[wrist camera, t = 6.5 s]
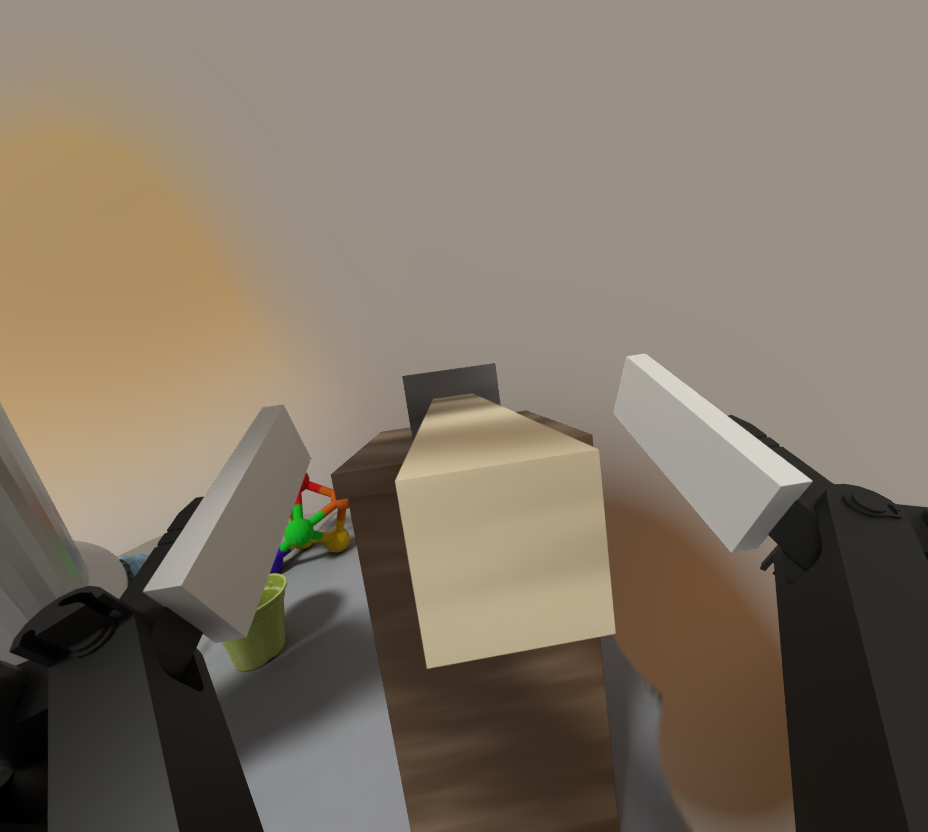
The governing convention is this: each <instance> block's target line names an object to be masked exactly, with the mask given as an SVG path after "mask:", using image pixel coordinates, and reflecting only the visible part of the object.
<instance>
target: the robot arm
mask: <svg viewBox="0 0 928 832" xmlns="http://www.w3.org/2000/svg"><path fill="white" fill-rule="evenodd" d="M613 413H614V415H615V416H616V417H617V418H618V419H619V421H620V422H621V423H622V424H623V425H624V426H625V428H626V429H627V430H628V431H629V432H630V433H631V435H632V436H633V437H634V438H635V439H636V441H637V442H638V443H639V444H640V445H641V446H642V448H643V449H644V450H645V451H646V452H647V454H648V455H649V456H650V457H651V458H652V460H653V461H654V462H655V463H656V464H657V465H658V467H659V468H660V469H661V470H662V471H663V473H664V474H665V475H666V476H667V477H668V478H669V480H670V481H671V482H672V483H673V484H674V485H675V487H676V488H677V489H678V490H679V491H680V493H681V494H682V495H683V496H684V497H685V499H686V500H687V501H688V502H689V503H690V504H691V506H692V507H693V508H694V509H695V510H696V511H697V513H698V514H699V515H700V516H701V517H702V519H703V520H704V521H705V522H706V523H707V524H708V526H709V527H710V528H711V529H712V530H713V532H714V533H715V534H716V535H717V536H718V537H719V539H720V540H721V541H722V542H723V543H724V545H725V546H726V547H727V548H728V549H729V550H730V552H732V553H733V552H739V551H745V550H751V549H756V548H758V547H759V546H760V545H761V544H762V542H763V541H764V540H765V539H766V538H767V536H768V535H769V536H770V537H771V538H772V539H773V540H774V541H775V542H776V543H777V544H778V545H777V546H776V547H775V548H774V550H773V551H772V552H771V553H770V554H769V555H768V557H767V558H766V559H765V560H764V561H763V562H762V564H761V567H760V569H761V570H764V571H766V570H767V568H768V567H769V566H770V565H771V564H772V563H774V570H775V571H774V572H773V574H774V575H775V582H776V594H777V605H778V618H779V631H780V643H781V655H782V667H783V679H784V692H785V704H786V716H787V728H788V739H789V752H790V763H791V764H790V765H791V776H792V788H793V801H794V812H795V824H796V832H928V507H919V506H908V505H898V504H895V503H893V502H892V501H891V500H889V499H887V498H885V497H884V496H882V495H880V494H878V493H876V492H874V491H871V490H868V489H865V488H862V487H859V486H854V485H849V484H833V483H831V482H830V481H829V480H827V479H826V478H825V477H823V476H822V475H820V474H819V473H818V472H816V471H815V470H814V469H812V468H811V467H810V466H808V465H807V464H805V463H804V462H803V461H801V460H800V459H799V458H797V457H796V456H795V455H793V454H792V453H790V452H789V451H788V450H786V449H785V448H784V447H780V446H779V444H778V443H777V442H775V441H774V440H773V439H771V438H770V437H769V438H767V436H766V434H764V433H763V432H762V431H760V430H759V429H758V428H756V427H755V426H753V425H752V424H750V423H748V422H746V421H744V420H741V419H739V418H737V417H735V416H733V415H729V416H727V415H725V414H724V413H723V412H721V411H720V410H719V409H717V408H716V407H715V406H713V405H712V404H711V403H710V402H708V401H707V400H706V399H704V398H703V397H702V396H700V395H699V394H698V393H696V392H695V391H694V390H693V389H691V388H690V387H688V386H687V385H686V384H685V383H683V382H682V381H681V380H679V379H678V378H677V377H675V376H674V375H673V374H671V373H670V372H669V371H668V370H666V369H665V368H663V367H662V366H661V365H660V364H658V363H657V362H656V361H654V360H653V359H651V358H650V357H649V356H648V355H647V354H640V355H634V356H627V357H626V361H625V365H624V370H623V374H622V378H621V382H620V387H619V391H618V395H617V400H616V404H615V408H614V412H613ZM310 460H311V457H310V455H309V453H308V451H307V450H306V447H305V446H304V444H303V442H302V440H301V438H300V436H299V434H298V432H297V430H296V428H295V426H294V424H293V422H292V420H291V418H290V416H289V414H288V412H287V410H286V409H285V407H284V405H277V406H271V407H263V408H262V409H261V411H260V412H259V414H258V415H257V417H256V418H255V420H254V421H253V423H252V424H251V426H250V427H249V429H248V430H247V432H246V434H245V435H244V437H243V438H242V440H241V441H240V443H239V444H238V446H237V447H236V449H235V451H234V452H233V454H232V455H231V457H230V458H229V460H228V461H227V463H226V464H225V466H224V467H223V469H222V470H221V472H220V474H219V475H218V477H217V478H216V480H215V481H214V483H213V484H212V486H211V487H210V489H209V490H208V492H207V494H206V495H205V496H204V497H198V498H195V499H194V500H193V501H192V502H191V503H190V504H188V505H187V506H186V507H185V508H184V509H183V510H182V511H181V512H180V513H179V514H178V515H177V516H176V518H175V519H174V521H173V522H172V524H171V525H170V527H169V528H168V529H167V531H168V532H167V533H165V534H164V535H163V537H162V538H161V539H160V541H159V542H158V547H156V548H154V550H153V551H152V552H151V554H150V555H149V557H148V556H146V555H144V554H138V555H134V556H130V557H129V556H124V557H119V558H117V557H116V556H115V555H114V554H113V553H111V552H110V551H108V550H107V549H104V548H102V547H99V546H97V545H94V544H90V543H86V542H79V541H73V539H72V538H71V536H70V534H69V532H68V530H67V528H66V526H65V524H64V522H63V521H62V519H61V517H60V515H59V513H58V511H57V509H56V507H55V505H54V504H53V502H52V500H51V498H50V496H49V494H48V492H47V490H46V488H45V486H44V485H43V483H42V481H41V479H40V477H39V475H38V473H37V471H36V470H35V468H34V466H33V464H32V462H31V460H30V458H29V456H28V454H27V452H26V451H25V449H24V447H23V445H22V443H21V441H20V439H19V437H18V436H17V434H16V432H15V430H14V428H13V426H12V424H11V423H10V420H9V419H8V417H7V415H6V413H5V411H4V409H3V407H2V405H1V404H0V832H264V830H263V828H262V825H261V822H260V819H259V816H258V813H257V810H256V807H255V805H254V802H253V799H252V796H251V793H250V790H249V787H248V784H247V782H246V779H245V776H244V773H243V770H242V767H241V764H240V761H239V758H238V756H237V753H236V750H235V747H234V744H233V741H232V738H231V735H230V733H229V730H228V727H227V724H226V721H225V718H224V715H223V712H222V710H221V707H220V704H219V701H218V698H217V695H216V692H215V689H214V687H213V684H212V681H211V678H210V675H209V672H208V669H207V666H206V663H205V661H204V658H203V655H202V654H201V652H200V651H199V650H198V649H197V648H196V647H197V645H198V643H199V641H200V639H201V636H202V634H204V635H205V636H207V637H208V638H210V639H211V640H212V641H214V642H215V643H218V642H223V641H229V640H235V639H241V638H246V637H247V635H248V632H249V629H250V626H251V624H252V621H253V618H254V615H255V612H256V610H257V607H258V604H259V601H260V599H261V596H262V593H263V590H264V587H265V585H266V582H267V579H268V576H269V574H270V571H271V568H272V565H273V563H274V560H275V557H276V554H277V551H278V549H279V546H280V543H281V540H282V538H283V535H284V532H285V529H286V526H287V524H288V521H289V518H290V515H291V513H292V510H293V507H294V504H295V501H296V499H297V496H298V493H299V490H300V488H301V485H302V482H303V479H304V477H305V474H306V471H307V468H308V465H309V463H310Z"/></svg>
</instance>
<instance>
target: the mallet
mask: <svg viewBox="0 0 928 832" xmlns="http://www.w3.org/2000/svg"><path fill="white" fill-rule="evenodd" d="M402 377H403V383H404V390H405V396H406V402H407V408H408V414H409V420H410V426H411V433H412V439H413V443H412V446H411V448H410V450H409V452H408V454H407V456H406V459H405V461H404V463H403V465H402V467H401V469H400V471H399V474H398V476H397V478H396V480H395V484H396V490H397V496H398V502H399V508H400V513H401V519H402V525H403V531H404V537H405V543H406V549H407V554H408V560H409V566H410V572H411V578H412V584H413V590H414V595H415V601H416V607H417V613H418V619H419V625H420V631H421V636H422V642H423V648H424V654H425V660H426V666H427V669H428V668H434V667H439V666H445V665H450V664H455V663H461V662H466V661H472V660H477V659H482V658H488V657H493V656H498V655H504V654H509V653H515V652H520V651H525V650H531V649H536V648H542V647H547V646H552V645H558V644H563V643H568V642H574V641H579V640H585V639H590V638H595V637H601V636H606V635H612V634H616V632H615V621H614V611H613V599H612V588H611V578H610V567H609V556H608V546H607V535H606V523H605V513H604V502H603V492H602V480H601V469H600V459H599V449H597V448H594V447H592V446H590V445H588V444H585V443H583V442H581V441H579V440H576V439H574V438H572V437H570V436H567V435H565V434H563V433H561V432H558V431H556V430H554V429H552V428H549V427H547V426H545V425H543V424H540V423H538V422H536V421H534V420H531V419H529V418H527V417H525V416H522V415H520V414H518V413H516V412H513V411H511V410H509V409H507V408H504V407H502V406H501V405H500V398H499V390H498V382H497V374H496V366H495V363H493V364H487V365H479V366H472V367H465V368H457V369H450V370H443V371H436V372H429V373H422V374H414V375H407V376H402Z"/></svg>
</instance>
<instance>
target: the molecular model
mask: <svg viewBox="0 0 928 832" xmlns="http://www.w3.org/2000/svg"><path fill="white" fill-rule="evenodd" d="M305 489H307V490H310V491H313V492H316V493H319V494H322V495H325V496H328V497H331V503H329V504H328V505H327V506H325V507H324V508H323V509H322V510H321V511H319V512H318V513H316V514H315V515H314V516H312V517H311V518H310V519H309V520H307V519H304V518H303V510H302V495H301V492H303V491H304V490H305ZM336 508H338V513H337V520H336V528H335V529H333V530H331V531H330V532H329V533H328V534H327V533H323V532H318V531H314V530H313V526H315V525H316V524H317V523H318V522H320V521H321V520H322V519H323V518H325V517H326V516H327V515H328V514H330V513H331V512H332V511H333V510H335V509H336ZM348 508H350V507H349V502H348V499H342V500H336V499H335V494H334V489H331V488H328V487H325V486H322V485H319V484H316V483H313V482H310V481H309V476H308V474H307V473H306V474H305V477H304V479H303V482H302V485H301V488H300V490H299V493H298V496H297V499H296V501H295V504H294V507H293V510H292V513H291V515H290V518H289V519H290V521H291V522H290V523H289V524H287V526H286V529H285V532H284V536H285V539H286V540H285V541H284V542H283V543H282V544H281V545H280V546H279V549H278V551H277V554H276V557H275V560H274V563H273V565H272V568H271V571H270V574H273V573H275V574H276V573H278V572H279V570H280V569H281V568H282V565H283V557H285V556H286V555H287V554H288V553H290V552H291V551H292V550H294V549H295V548H297V549H306V548H308V547H310V546H311V545H312V544H313V542H316V543H325V544H326V547H327V548H328V549H329V550H330V551H331V552H335V553H338V552H342V551H343V550H345V549H346V548H347V547H348V545H349V543H350V535H349V533H348V531H347V530H345V529H344V522H345V515H346V509H348Z"/></svg>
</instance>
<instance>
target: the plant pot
mask: <svg viewBox="0 0 928 832" xmlns="http://www.w3.org/2000/svg"><path fill="white" fill-rule="evenodd" d="M286 586H287V579H286V577H285V576H284V575H282V574H275V573H273V574H269V576H268V579H267V582H266V585H265V587H264V590H263V593H262V596H261V599H260V601H259V604H258V607H257V610H256V612H255V615H254V618H253V621H252V624H251V626H250V629H249V632H248V635H247V637H246V638H241V639H235V640H229V641H223V644H224V646H225V648H226V650H227V652H228V654H229V656H230V658H231V660H232V662H233V664H234V666H235V667H236V668H237V669H238V670H239V671H250V670H253V669H256V668H259V667H261V666H263V665H264V664H265V663H266V662H267V661H268V660H269V659H271V658H272V657H275V656H277V655H278V654H279V653H280V651H281V650H282V649H283V647H284V645H285V642H286V632H285V616H284V595H285V588H286Z"/></svg>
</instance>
